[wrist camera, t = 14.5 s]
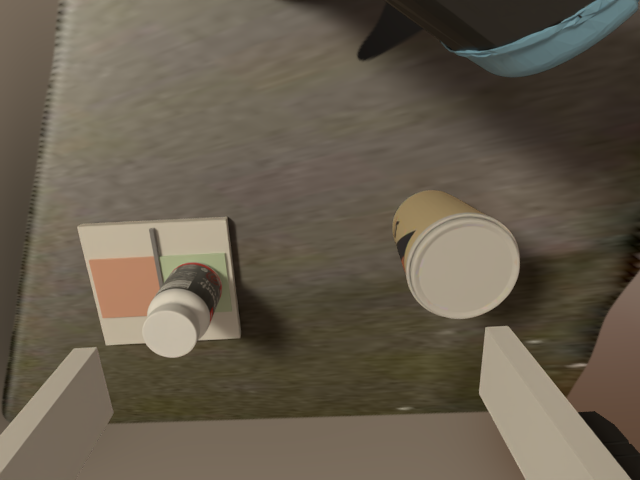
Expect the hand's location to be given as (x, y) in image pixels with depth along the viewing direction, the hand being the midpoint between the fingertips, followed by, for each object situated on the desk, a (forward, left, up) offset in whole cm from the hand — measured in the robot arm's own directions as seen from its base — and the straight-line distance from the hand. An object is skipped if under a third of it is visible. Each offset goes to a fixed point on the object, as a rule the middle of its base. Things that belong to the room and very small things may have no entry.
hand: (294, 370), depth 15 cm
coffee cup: (+6, +13, -32) cm, 35 cm away
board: (+11, -16, -32) cm, 37 cm away
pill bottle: (+11, -12, -31) cm, 35 cm away
